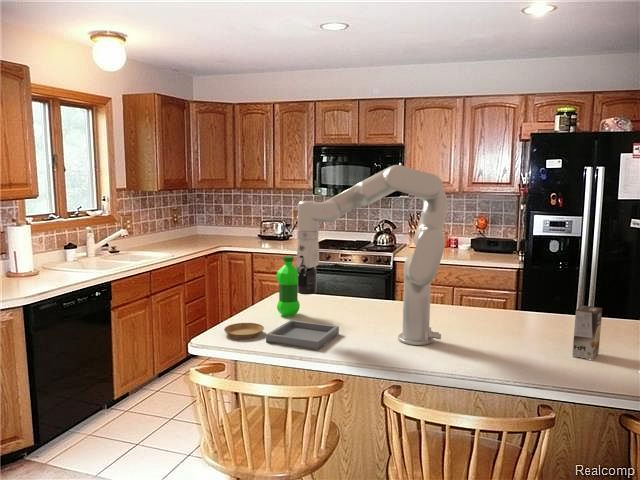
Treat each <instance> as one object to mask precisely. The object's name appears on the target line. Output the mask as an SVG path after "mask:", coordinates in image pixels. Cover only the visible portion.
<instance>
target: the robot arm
mask: <svg viewBox="0 0 640 480" xmlns="http://www.w3.org/2000/svg"><path fill="white" fill-rule="evenodd" d="M394 192H401V193H404V194H408V195H412V196H415V197H419V198H421V201H422V209H421V214H420V218H419V221H418V225H417V227H416V230H415V233H414V236H413V242H414V245H415V247H414V250H413V253H412V254H411V255H409V256H408V257H407V258H406V260H405V261H404V264H403V300H402V301H403V302H402V303H403V304H402V307H403V308H402V332H401V333H399V334H398V336H397V340H398V341H399V342H401V343H404V344H406V345H410V346H411V345H412V346H425V345H426V346H427V345H430V344H432V343H433V342H434V339H435V340H441V339H442V334H441V333H440V332H438V331H433V330H432V327H430V320H431V319H430V318H431V317H430V316H431V299H432V297H431V296H432V295H431V293H432V291H431V290H432V289H431V288H432V282H433V281H434V280H435V278H436V276H437V274H438V270H439V267H440V265H441V260H442V258H443V255H444V252H445V248H446V237H445V235H444V233H443V230H444V229H443V228H444V225H445V221H446V218H447V213H448V203H449V202H448V199H447V194H446V192H445V190H444V183H443V181H442V179H441V178H440V176H438V175H436V174H434V173H431V172H425V171H421V170H419V169H414V168H410V167H407V166H404V165H402V164H393V165H391V166H388V167H387V168H384V169H383V170H381V171H378V172H377V173H375V174H373V175H371V176H370V177H367V178H365V179H364V180H361V181H360V182H358V183H356V184H354V185H353V186H352V187H350V188H348V189H346V190H344V191H342V192H340V193H338V194H336V195H334V196H332V197H331V198H328V199H326V200H325V201H323V202H317V201H314V200H301V201H299V202H298V204H297V231H296V235H297V238H296V240H297V241H298V242H297V250H296V252H297V253H296V266H295V267H296V268H297V271H298V286H300V287H307V276H306V273H307V269H308V268H309V269H310V268H313V267H314V268H316V269H317V267H318V265H320V244H319V223H320V222H321V223H328V224H331V223H332V224H333V223H334V222H336V221H337V220H339V219H340V217H341V216H343V215H345V214H347V213H349V212H351V211H354V210H355V209H359V208H362V207H365V206H368V205H371V204H373V203H375V202H377V201H379V200H381V199H383V198H385V197H387V196H389V195H390V194H392V193H394ZM302 266H305V267H302ZM303 269H305V270H304V271H303Z"/></svg>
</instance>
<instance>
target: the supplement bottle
mask: <svg viewBox="0 0 640 480" xmlns="http://www.w3.org/2000/svg"><path fill="white" fill-rule="evenodd" d="M302 267H305V266H302ZM304 270H305V269H303V271H304ZM306 276H307V287H300V286H298V294H299V295H304V296H305V295H315V294H316V293H317V267H316V268H314V267H313V268H310V269H309V268H308V269H307V273H306Z"/></svg>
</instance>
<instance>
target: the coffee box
mask: <svg viewBox="0 0 640 480" xmlns="http://www.w3.org/2000/svg"><path fill="white" fill-rule="evenodd" d="M602 316H603V307H597V306H591V305H590V306H589V305H582V306H579V307H578V308H576V309H575V317H574V318H575V320H574V330H573V340H572V341H573V343H572V355H573V356H577V357H581V358H580V359H582V358H586V359H591V360H590V361H593V360H594V359H595V358H596V357H597V356H598V355H599V354H598V353H600V352H599V351H600V340H601V329H602V318H603V317H602ZM597 354H598V355H597ZM572 355H571V356H572ZM596 355H597V356H596ZM573 356H572V357H573ZM595 356H596V357H595ZM577 357H576V358H577ZM586 359H585V360H586Z"/></svg>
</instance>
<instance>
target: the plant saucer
mask: <svg viewBox="0 0 640 480" xmlns="http://www.w3.org/2000/svg"><path fill="white" fill-rule="evenodd" d="M264 329H265V327H264V326H263V325H262V324H260V323H255V322H237V323H232V324H229V325H227V326H225V327H224V328H223V330H224V332H225V333H226V334H227V336H229V337H230V338H231V339H232V338H233V339H236V340H248V339H254V338H257V337H258V336H260V335H261V333H262V332H263V331H264Z"/></svg>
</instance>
